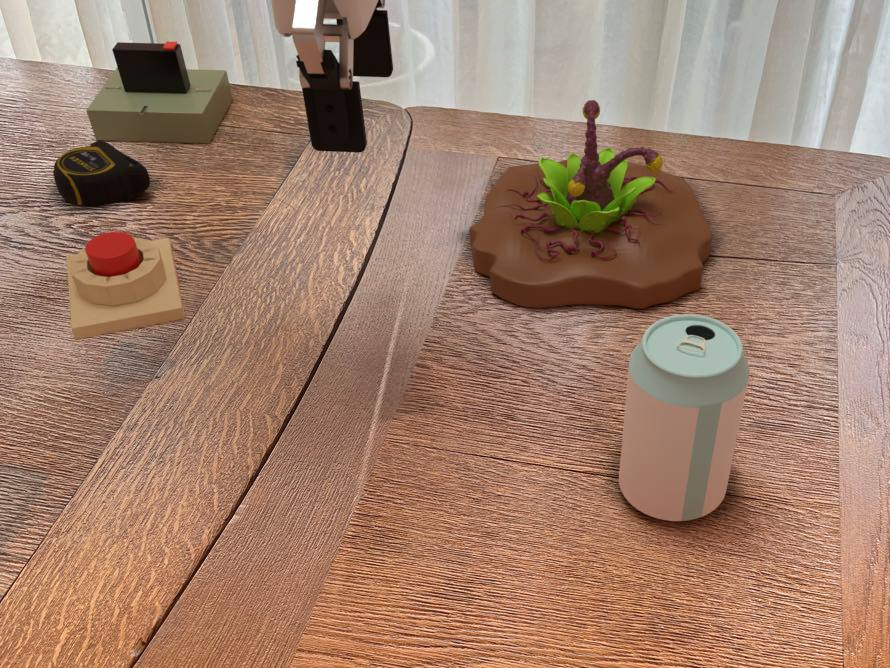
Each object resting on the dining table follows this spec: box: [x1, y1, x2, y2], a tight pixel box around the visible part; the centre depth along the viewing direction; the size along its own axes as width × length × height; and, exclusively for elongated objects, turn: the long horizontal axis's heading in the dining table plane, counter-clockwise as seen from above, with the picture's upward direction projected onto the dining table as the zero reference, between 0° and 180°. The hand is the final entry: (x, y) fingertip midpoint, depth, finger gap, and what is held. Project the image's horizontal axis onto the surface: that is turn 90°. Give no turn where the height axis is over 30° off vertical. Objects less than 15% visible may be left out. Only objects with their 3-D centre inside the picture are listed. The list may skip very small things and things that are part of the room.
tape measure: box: [52, 140, 151, 208], centre depth 90 cm, size 7×7×4 cm
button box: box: [65, 237, 186, 340], centre depth 80 cm, size 10×8×4 cm
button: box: [84, 231, 141, 277], centre depth 78 cm, size 4×4×2 cm
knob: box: [111, 41, 191, 93], centre depth 97 cm, size 6×2×4 cm, turn 87°
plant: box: [469, 99, 713, 310], centre depth 83 cm, size 20×20×11 cm
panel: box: [85, 66, 234, 144], centre depth 100 cm, size 11×10×3 cm
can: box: [618, 313, 750, 522], centre depth 64 cm, size 7×7×12 cm
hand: (355, 110), depth 64 cm, fingers open, 9 cm apart
